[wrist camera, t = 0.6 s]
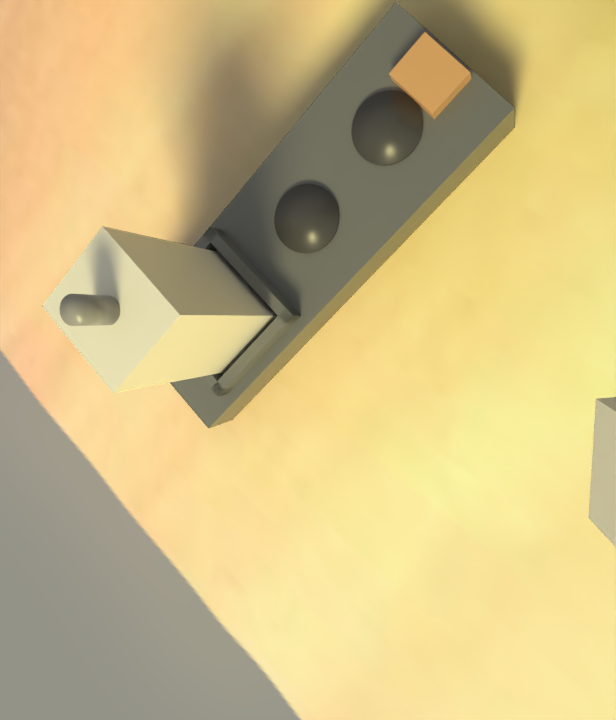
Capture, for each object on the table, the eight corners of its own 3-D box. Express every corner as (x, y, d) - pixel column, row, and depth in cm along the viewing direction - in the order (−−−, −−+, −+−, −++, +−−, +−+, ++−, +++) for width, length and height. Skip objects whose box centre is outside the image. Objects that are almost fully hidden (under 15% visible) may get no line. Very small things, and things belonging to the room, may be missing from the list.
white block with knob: (221, 252, 33) (65, 218, 21) (279, 315, 32) (149, 314, 20) (172, 309, 34) (2, 305, 23) (227, 371, 33) (78, 399, 22)
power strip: (406, 30, 31) (391, -11, 27) (514, 127, 30) (514, 98, 26) (154, 328, 38) (112, 330, 34) (232, 419, 37) (198, 432, 33)
